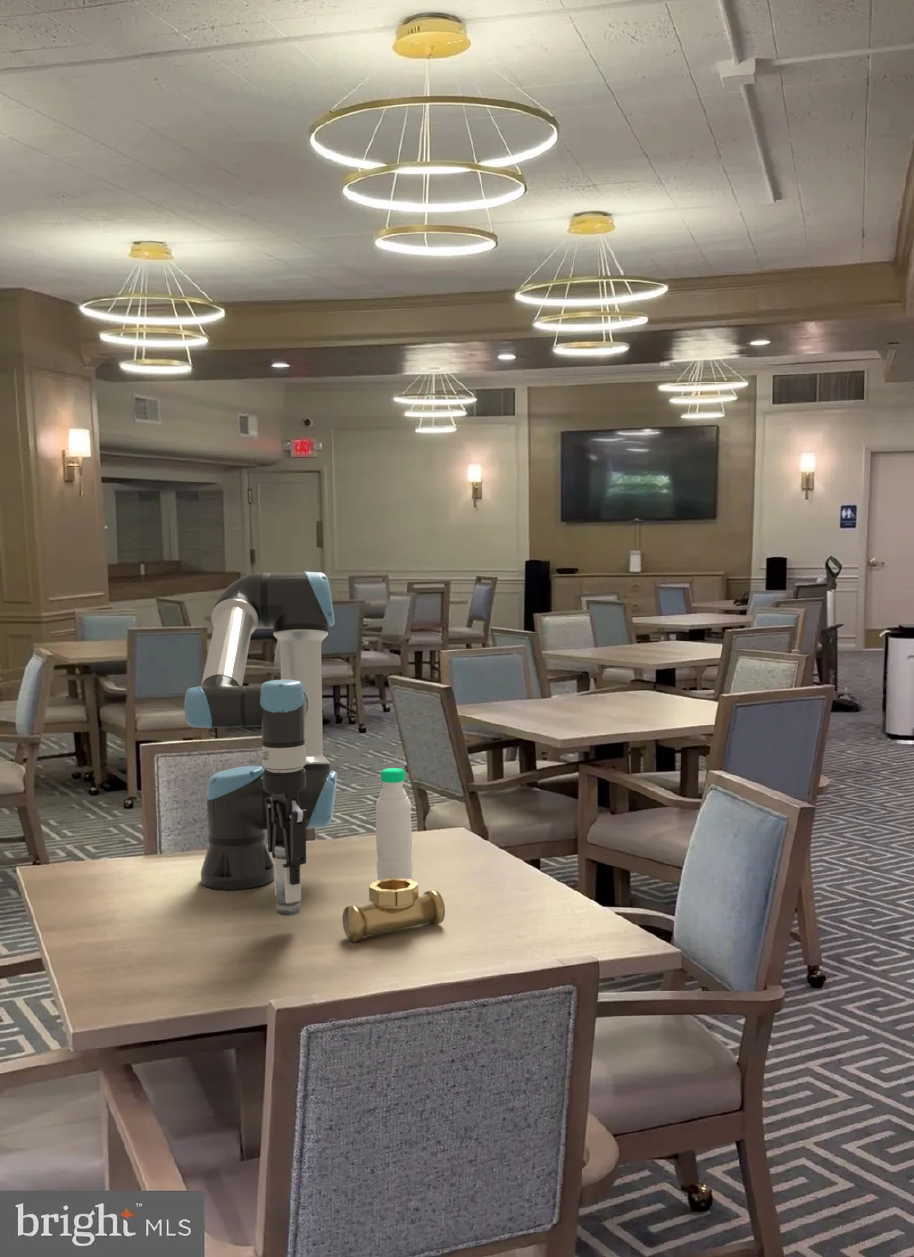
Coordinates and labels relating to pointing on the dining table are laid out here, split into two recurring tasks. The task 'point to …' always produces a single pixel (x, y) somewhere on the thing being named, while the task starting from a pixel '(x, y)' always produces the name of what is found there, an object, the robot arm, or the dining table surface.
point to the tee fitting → (393, 909)
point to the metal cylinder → (283, 885)
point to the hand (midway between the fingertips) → (287, 897)
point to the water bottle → (393, 827)
